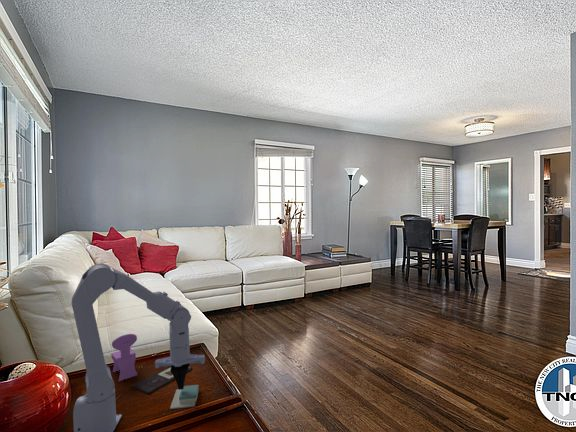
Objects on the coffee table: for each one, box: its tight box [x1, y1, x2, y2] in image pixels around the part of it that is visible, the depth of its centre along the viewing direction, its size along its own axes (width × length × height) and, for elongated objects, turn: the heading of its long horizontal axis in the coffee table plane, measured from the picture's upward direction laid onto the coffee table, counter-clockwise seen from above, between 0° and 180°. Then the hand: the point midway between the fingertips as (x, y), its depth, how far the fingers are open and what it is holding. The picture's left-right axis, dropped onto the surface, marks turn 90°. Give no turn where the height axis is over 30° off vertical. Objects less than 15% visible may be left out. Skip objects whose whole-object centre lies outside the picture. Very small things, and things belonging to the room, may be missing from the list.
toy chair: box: [110, 333, 139, 382], centre depth 116 cm, size 8×9×15 cm
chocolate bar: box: [131, 366, 193, 395], centre depth 113 cm, size 9×1×18 cm
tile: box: [179, 384, 200, 403], centre depth 100 cm, size 2×6×5 cm
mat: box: [169, 388, 197, 410], centre depth 100 cm, size 7×10×1 cm
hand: (181, 387), depth 100 cm, fingers closed
